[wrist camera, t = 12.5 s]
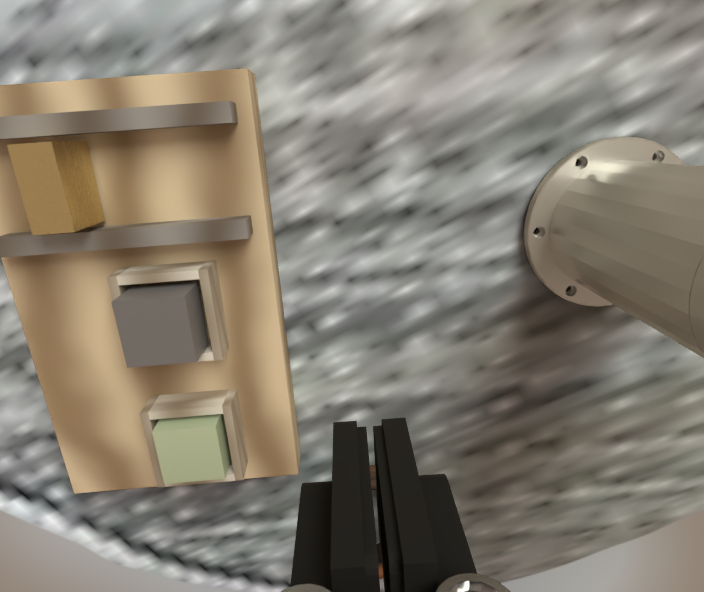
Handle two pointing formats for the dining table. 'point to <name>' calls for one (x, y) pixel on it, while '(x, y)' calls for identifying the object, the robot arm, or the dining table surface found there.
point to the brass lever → (57, 186)
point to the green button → (192, 448)
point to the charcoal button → (161, 324)
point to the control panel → (153, 271)
